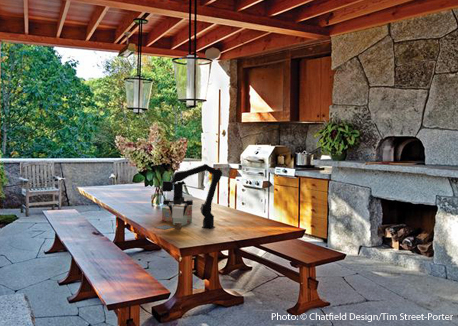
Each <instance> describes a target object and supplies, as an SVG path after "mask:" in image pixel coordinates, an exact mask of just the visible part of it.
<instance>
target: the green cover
mask: <svg viewBox="0 0 458 326" xmlns="http://www.w3.org/2000/svg"><path fill="white" fill-rule="evenodd" d="M175 222H181V227H183V226H186V225H188V224H187V215H184V216H183V219H182V218H173V222H172V225H173V226H175Z"/></svg>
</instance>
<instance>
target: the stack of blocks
mask: <svg viewBox="0 0 458 326" xmlns="http://www.w3.org/2000/svg"><path fill="white" fill-rule="evenodd" d="M184 205H185V204H181V205H174V204H172V210H173V207H184ZM184 215H187V224H186V225H188V224H191V223H192V222H193V205H189V206H187V208H186V211H185V214H184ZM161 216H162V217H161V221H165V222H171V223H173V218H172V214H171V211H170V208H169V207H168V206H167V205H166V206H164V207H162V208H161Z"/></svg>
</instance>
